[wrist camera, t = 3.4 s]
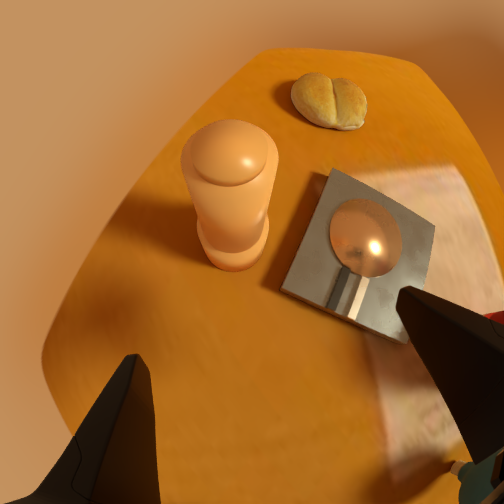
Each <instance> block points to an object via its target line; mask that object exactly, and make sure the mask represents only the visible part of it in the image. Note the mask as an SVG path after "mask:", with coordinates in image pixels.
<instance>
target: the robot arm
mask: <svg viewBox="0 0 504 504" xmlns="http://www.w3.org/2000/svg"><path fill="white" fill-rule="evenodd" d="M395 308H396V312H397V314H398V316H399V318H400V320H401V322H402V324H403V326H404V328H405V330H406V332H407V334H408V336H409V338H410V340H411V342H412V344H413V346H414V347H415V349H416V351H417V353H418V354H419V356H420V358H421V359H422V361H423V363H424V364H425V366H426V368H427V370H428V371H429V373H430V375H431V377H432V378H433V380H434V382H435V384H436V386H437V387H438V389H439V391H440V393H441V395H442V397H443V399H444V401H445V402H446V404H447V406H448V408H449V410H450V412H451V414H452V416H453V418H454V420H455V422H456V424H457V426H458V429H459V431H460V433H461V435H462V437H463V440H464V442H465V444H466V446H467V449H468V451H469V453H470V456H471V458H472V460H473V463H474V464H475V465H477V464H479V463H480V462H482V461H483V460H485V459H486V458H488V457H489V456H491V455H492V454H494V453H495V452H497V451H498V450H500V449H501V448H502V447H504V325H503V324H501V323H499V322H496V321H494V320H492V319H488V318H487V317H485V316H483V315H480V314H478V313H476V312H473V311H471V310H469V309H466V308H464V307H462V306H459V305H457V304H454V303H452V302H450V301H447V300H445V299H442V298H440V297H438V296H435V295H433V294H430V293H428V292H425V291H423V290H420V289H418V288H416V287H413V286H410V285H409V286H405V287H403V288H401V289H400V290H399V293H398V297H397V301H396V306H395ZM490 483H491V485H492V487H493V489H494V491H493V492H492V493H491V494H490V495H489V496H487V497H486V498H485V499H484V500H483V501H482V502H481V503H480V504H504V449H503V450H502V451H501V452H500V453H499V454H498V455H497V456H496V458H495V463H494V467H493V472H492V476H491V480H490ZM5 504H161V500H160V492H159V482H158V470H157V456H156V436H155V413H154V404H153V396H152V388H151V378H150V372H149V369H148V367H147V366H146V364H145V363H144V361H143V360H142V358H141V356H140V355H139V354H130V355H127V356H125V358H124V359H123V361H122V362H121V364H120V365H119V367H118V368H117V369H116V371H115V372H114V374H113V375H112V377H111V378H110V380H109V381H108V383H107V384H106V386H105V387H104V389H103V390H102V392H101V394H100V395H99V397H98V398H97V400H96V401H95V403H94V404H93V406H92V407H91V409H90V411H89V412H88V414H87V415H86V417H85V418H84V420H83V422H82V423H81V425H80V426H79V428H78V430H77V431H76V433H75V436H73V438H72V439H71V441H70V443H69V444H68V446H67V447H66V449H65V451H64V452H63V454H62V455H61V457H60V458H59V459H58V461H57V462H56V464H55V465H54V467H53V468H52V469H51V471H50V472H49V473H48V475H47V476H46V477H45V479H44V480H43V481H42V483H41V484H40V485H39V487H38V488H37V489H36V490H35V491H34V492H33V493H32V494H30V495H29V496H27V497H24V498H21V499H18V500H15V501H12V502H9V503H5Z"/></svg>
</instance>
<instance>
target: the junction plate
mask: <svg viewBox="0 0 504 504" xmlns="http://www.w3.org/2000/svg"><path fill="white" fill-rule="evenodd" d="M434 231H435V226H434V225H433V224H431V223H430V222H428V221H427V220H425V219H424V218H422V217H420V216H419V215H417V214H416V213H414V212H413V211H411V210H409V209H408V208H406V207H404V206H403V205H401V204H399V203H398V202H396V201H394V200H393V199H391V198H389V197H387V196H386V195H384V194H382V193H380V192H378V191H377V190H375V189H373V188H371V187H369V186H368V185H366V184H364V183H362V182H360V181H358V180H356V179H354V178H352V177H350V176H348V175H347V174H345V173H343V172H341V171H339V170H336V169H334V168H332V170H331V172H330V174H329V176H328V178H327V181H326V183H325V185H324V188H323V190H322V193H321V195H320V198H319V200H318V202H317V205H316V207H315V210H314V212H313V214H312V217H311V219H310V221H309V224H308V226H307V228H306V231H305V233H304V235H303V238H302V240H301V242H300V245H299V247H298V249H297V251H296V254H295V256H294V258H293V260H292V263H291V265H290V267H289V269H288V271H287V274H286V276H285V278H284V280H283V282H282V285H281V287H280V289H279V291H282V292H284V293H286V294H288V295H290V296H292V297H294V298H296V299H299V300H301V301H303V302H305V303H307V304H309V305H312V306H314V307H316V308H318V309H320V310H323V311H325V312H327V313H329V314H331V315H333V316H336V317H338V318H340V319H342V320H345V321H347V322H349V323H351V324H353V325H356V326H358V327H360V328H362V329H365V330H367V331H369V332H371V333H374V334H376V335H378V336H381V337H383V338H385V339H387V340H390V341H392V342H394V343H397V344H407V342H408V339H409V336H408V334H407V332H406V330H405V328H404V326H403V324H402V322H401V320H400V318H399V316H398V314H397V312H396V308H395V306H396V301H397V297H398V293H399V290H400V289H401V288H403V287H405V286H409V285H410V286H413V287H416V288H418V289H420V290H423V287H424V283H425V279H426V274H427V270H428V265H429V260H430V255H431V249H432V244H433V238H434Z"/></svg>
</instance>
